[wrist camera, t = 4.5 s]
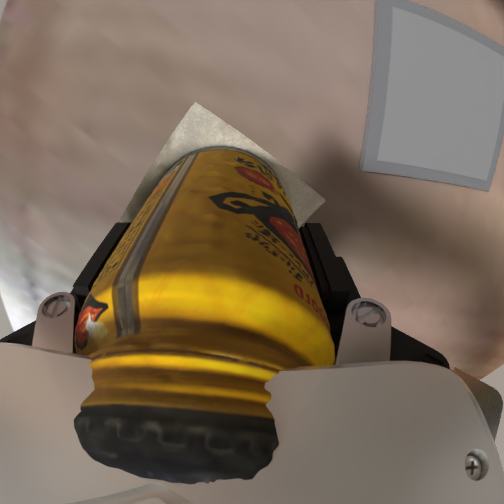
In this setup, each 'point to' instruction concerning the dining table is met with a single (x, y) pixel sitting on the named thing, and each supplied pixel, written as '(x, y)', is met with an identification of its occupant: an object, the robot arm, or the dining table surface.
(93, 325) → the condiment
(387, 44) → the plate
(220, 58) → the dining table surface
